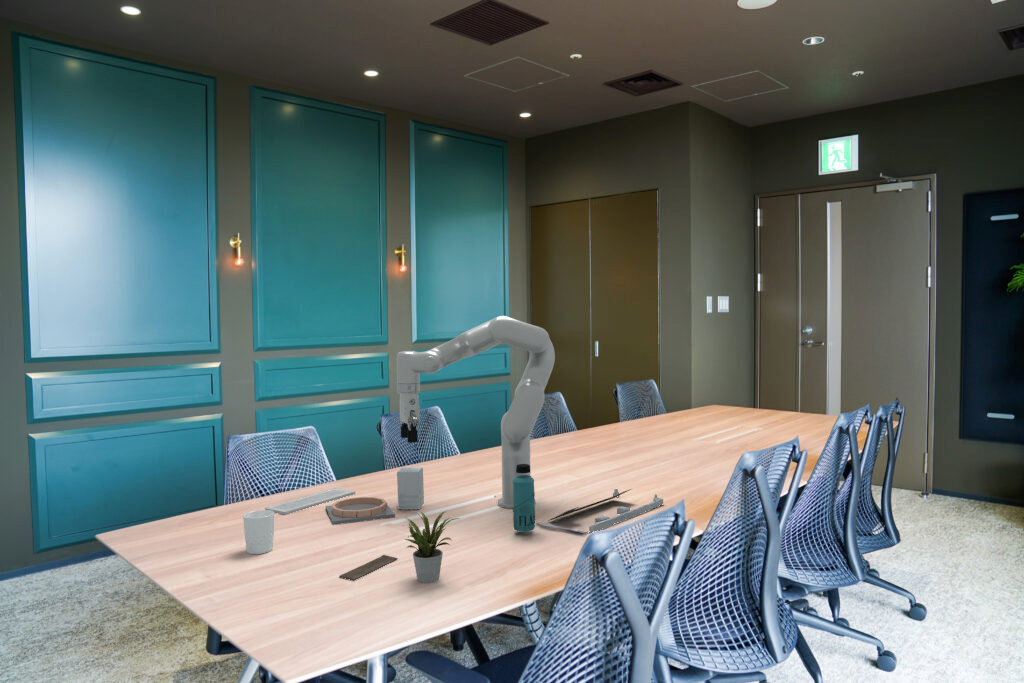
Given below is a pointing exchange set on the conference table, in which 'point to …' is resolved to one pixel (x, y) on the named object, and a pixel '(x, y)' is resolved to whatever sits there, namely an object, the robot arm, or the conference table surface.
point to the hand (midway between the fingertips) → (409, 439)
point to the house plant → (427, 549)
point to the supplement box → (410, 488)
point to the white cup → (259, 531)
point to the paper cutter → (608, 521)
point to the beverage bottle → (523, 500)
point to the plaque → (309, 501)
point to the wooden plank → (368, 567)
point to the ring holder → (359, 510)
